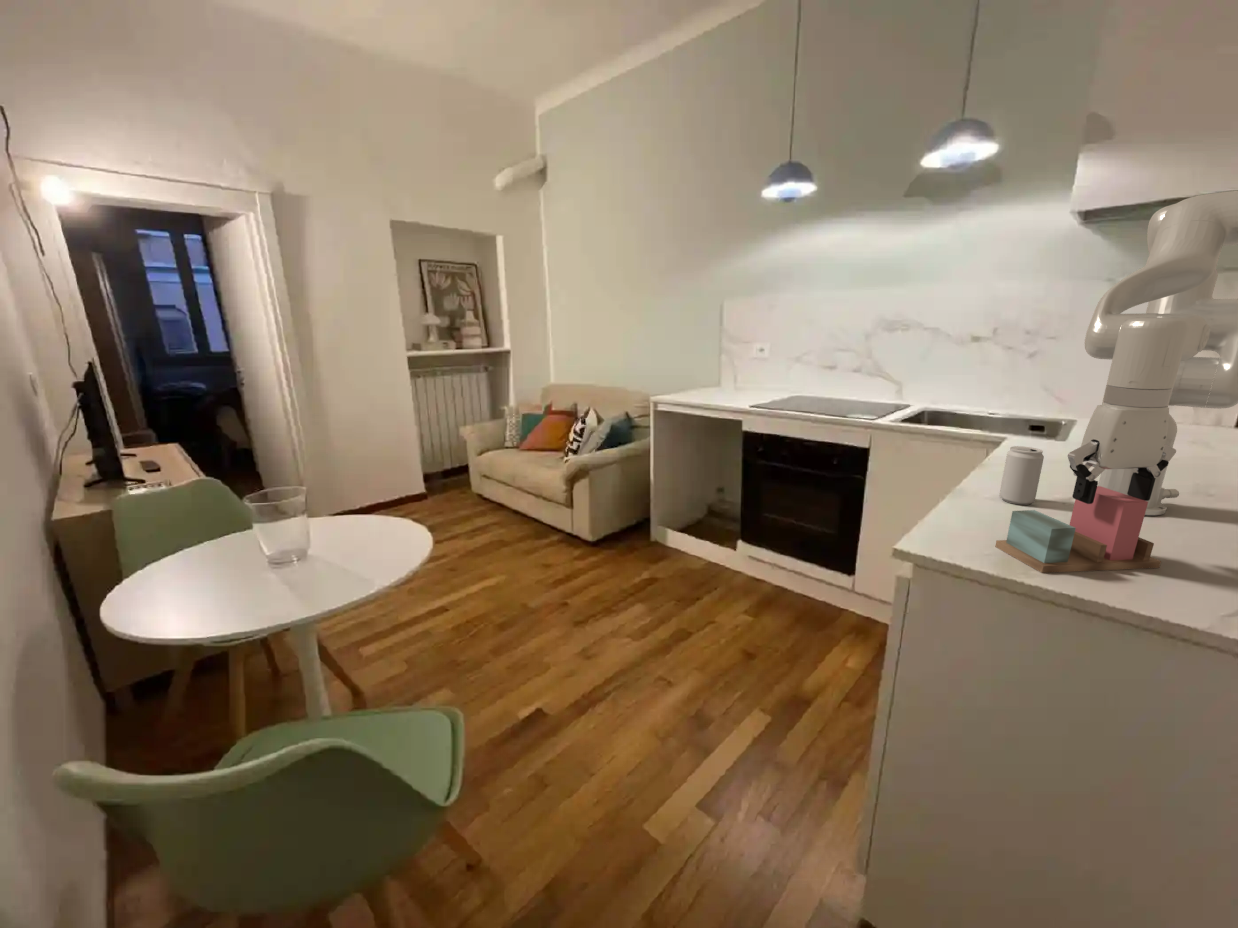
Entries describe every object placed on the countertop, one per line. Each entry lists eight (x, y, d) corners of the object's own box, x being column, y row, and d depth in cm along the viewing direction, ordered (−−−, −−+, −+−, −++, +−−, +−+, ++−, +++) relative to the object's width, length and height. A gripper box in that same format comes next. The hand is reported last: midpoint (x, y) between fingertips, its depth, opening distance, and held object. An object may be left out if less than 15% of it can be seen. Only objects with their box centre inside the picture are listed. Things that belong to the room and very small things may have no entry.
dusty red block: (1086, 539, 93) (1100, 486, 90) (1132, 559, 85) (1148, 501, 82) (1065, 540, 93) (1078, 487, 90) (1109, 560, 85) (1124, 502, 82)
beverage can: (1035, 507, 111) (1047, 453, 108) (999, 502, 115) (1009, 450, 111) (1032, 499, 117) (1043, 447, 113) (997, 494, 120) (1007, 444, 117)
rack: (1101, 542, 94) (1110, 505, 92) (1159, 567, 85) (1171, 526, 83) (995, 546, 93) (1002, 509, 91) (1041, 572, 84) (1051, 531, 82)
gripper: (1162, 391, 86) (1136, 489, 91) (1062, 396, 85) (1041, 494, 90) (1215, 399, 79) (1183, 504, 84) (1106, 404, 78) (1080, 510, 83)
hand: (1110, 499), depth 87 cm, fingers open, 9 cm apart
